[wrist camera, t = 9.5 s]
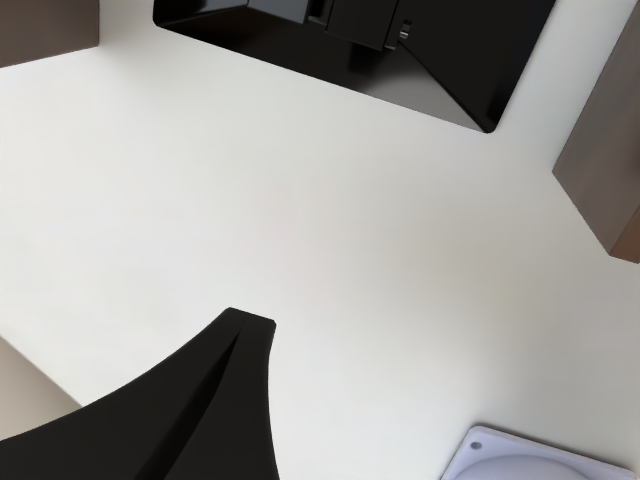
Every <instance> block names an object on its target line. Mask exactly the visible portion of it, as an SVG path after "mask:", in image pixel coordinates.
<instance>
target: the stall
mask: <svg viewBox="0 0 640 480" xmlns="http://www.w3.org/2000/svg"><path fill="white" fill-rule="evenodd" d="M98 45H99V27H98V0H0V68H3V67H8V66H12V65H17V64H21V63H25V62H30V61H34V60H39V59H43V58H48V57H52V56H56V55H61V54H65V53H70V52H74V51H79V50H83V49H88V48H92V47H96V46H98ZM552 173H553V175H554V176H555V177H556V179H557V180H558V182H559V183H560V185H561V186H562V188H563V189H564V191H565V192H566V194H567V195H568V196H569V198H570V199H571V201H572V202H573V204H574V205H575V207H576V208H577V210H578V211H579V213H580V214H581V215H582V217H583V218H584V220H585V221H586V223H587V224H588V226H589V227H590V229H591V230H592V232H593V233H594V235H595V236H596V237H597V239H598V240H599V242H600V243H601V245H602V246H603V248H604V249H605V251H606V252H607V254H608V255H609V256H612V257H616V258H619V259H623V260H626V261H630V262H633V263H637V264H639V263H640V0H638V2H637V4H636V6H635V7H634V9H633V11H632V13H631V15H630V17H629V19H628V21H627V23H626V25H625V27H624V29H623V31H622V33H621V35H620V37H619V39H618V41H617V43H616V45H615V47H614V49H613V51H612V53H611V55H610V57H609V59H608V61H607V63H606V65H605V67H604V69H603V71H602V73H601V75H600V77H599V79H598V81H597V83H596V85H595V87H594V89H593V91H592V93H591V95H590V97H589V99H588V101H587V103H586V105H585V107H584V109H583V111H582V113H581V115H580V117H579V119H578V121H577V123H576V125H575V127H574V129H573V130H572V132H571V134H570V136H569V138H568V140H567V142H566V144H565V146H564V148H563V150H562V152H561V154H560V156H559V158H558V160H557V162H556V164H555V166H554V168H553V170H552Z"/></svg>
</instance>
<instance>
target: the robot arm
mask: <svg viewBox="0 0 640 480" xmlns="http://www.w3.org/2000/svg"><path fill="white" fill-rule="evenodd" d="M275 329H276V323H275V322H274V320H272V319H268V318H265V317H262V316H258V315H255V314H252V313H248V312H245V311H242V310H238V309H235V308H231V307H229V308H227V309H225V310H224V311H223V312H222V313H221V314H220V315H219V316H218V317H217V318H216V319H215V320H214V321H212V322H211V323H210V324H209V325H208V326H207V327H206V328H204V329H203V330H202V331H201V332H200V333H198V334H197V335H196V336H195V337H194V338H192V339H191V340H190V341H188V342H187V343H186V344H185V345H183V346H182V347H181V348H180V349H178V350H177V351H176V352H174V353H173V354H172V355H170V356H169V357H167V358H166V359H164V360H163V361H162V362H160V363H159V364H157V365H156V366H154V367H153V368H151V369H150V370H149V371H147V372H145V373H144V374H142V375H141V376H139V377H138V378H136V379H134V380H133V381H131V382H129V383H128V384H126V385H124V386H122V387H121V388H119V389H117V390H115V391H114V392H112V393H110V394H108V395H106V396H104V397H102V398H100V399H98V400H97V401H95V402H93V403H91V404H89V405H87V406H85V407H83V408H81V409H79V410H76V411H74V412H72V413H70V414H67V415H65V416H63V417H60V418H58V419H56V420H53V421H51V422H49V423H46V424H44V425H42V426H39V427H37V428H35V429H32V430H30V431H27V432H24V433H22V434H19V435H16V436H13V437H10V438H7V439H4V440H1V441H0V480H280V479H279V474H278V469H277V465H276V460H275V454H274V448H273V441H272V433H271V425H270V414H269V398H268V365H269V355H270V350H271V346H272V342H273V338H274V333H275ZM474 442H478V443H474ZM441 480H637V479H636V477H635V475H634V473H633V472H632V471H630V470H627V469H624V468H620V467H617V466H614V465H610V464H607V463H604V462H600V461H597V460H594V459H590V458H587V457H584V456H580V455H577V454H574V453H570V452H567V451H564V450H560V449H557V448H554V447H550V446H547V445H544V444H540V443H537V442H534V441H530V440H527V439H524V438H520V437H517V436H514V435H510V434H507V433H504V432H500V431H497V430H494V429H490V428H487V427H484V426H475V427H472V428H471V429H470V430H469V432H468V433H467V435H466V437H465V439H464V440H463V442H462V444H461V446H460V447H459V449H458V451H457V452H456V454H455V456H454V458H453V459H452V461H451V463H450V465H449V466H448V468H447V470H446V471H445V473H444V475H443V477H442V478H441Z"/></svg>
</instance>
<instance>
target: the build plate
mask: <svg viewBox="0 0 640 480" xmlns="http://www.w3.org/2000/svg"><path fill="white" fill-rule="evenodd" d="M555 2H556V0H154V7H153V21H154V23H155V25H156V26H158V27H161V28H164V29H167V30H170V31H173V32H176V33H179V34H182V35H185V36H188V37H191V38H194V39H197V40H200V41H203V42H207V43H210V44H213V45H216V46H219V47H222V48H225V49H228V50H231V51H234V52H237V53H240V54H243V55H246V56H250V57H253V58H256V59H259V60H262V61H265V62H268V63H271V64H274V65H277V66H280V67H283V68H286V69H289V70H293V71H296V72H299V73H302V74H305V75H308V76H311V77H314V78H317V79H320V80H323V81H326V82H329V83H332V84H335V85H339V86H342V87H345V88H348V89H351V90H354V91H357V92H360V93H363V94H366V95H369V96H372V97H375V98H378V99H382V100H385V101H388V102H391V103H394V104H397V105H400V106H403V107H406V108H409V109H412V110H415V111H418V112H421V113H425V114H428V115H431V116H434V117H437V118H440V119H443V120H446V121H449V122H452V123H455V124H458V125H461V126H464V127H467V128H471V129H474V130H477V131H480V132H483V133H487V134H488V133H491V132H493V131H494V130H495V129H496V127H497V124H498V122H499V120H500V118H501V116H502V114H503V112H504V110H505V108H506V105H507V103H508V101H509V99H510V97H511V95H512V93H513V91H514V88H515V86H516V84H517V82H518V80H519V78H520V76H521V74H522V72H523V69H524V67H525V65H526V63H527V61H528V59H529V57H530V55H531V53H532V50H533V48H534V46H535V44H536V42H537V40H538V38H539V36H540V33H541V31H542V29H543V27H544V25H545V23H546V21H547V19H548V17H549V14H550V12H551V10H552V8H553V6H554V4H555Z"/></svg>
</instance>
